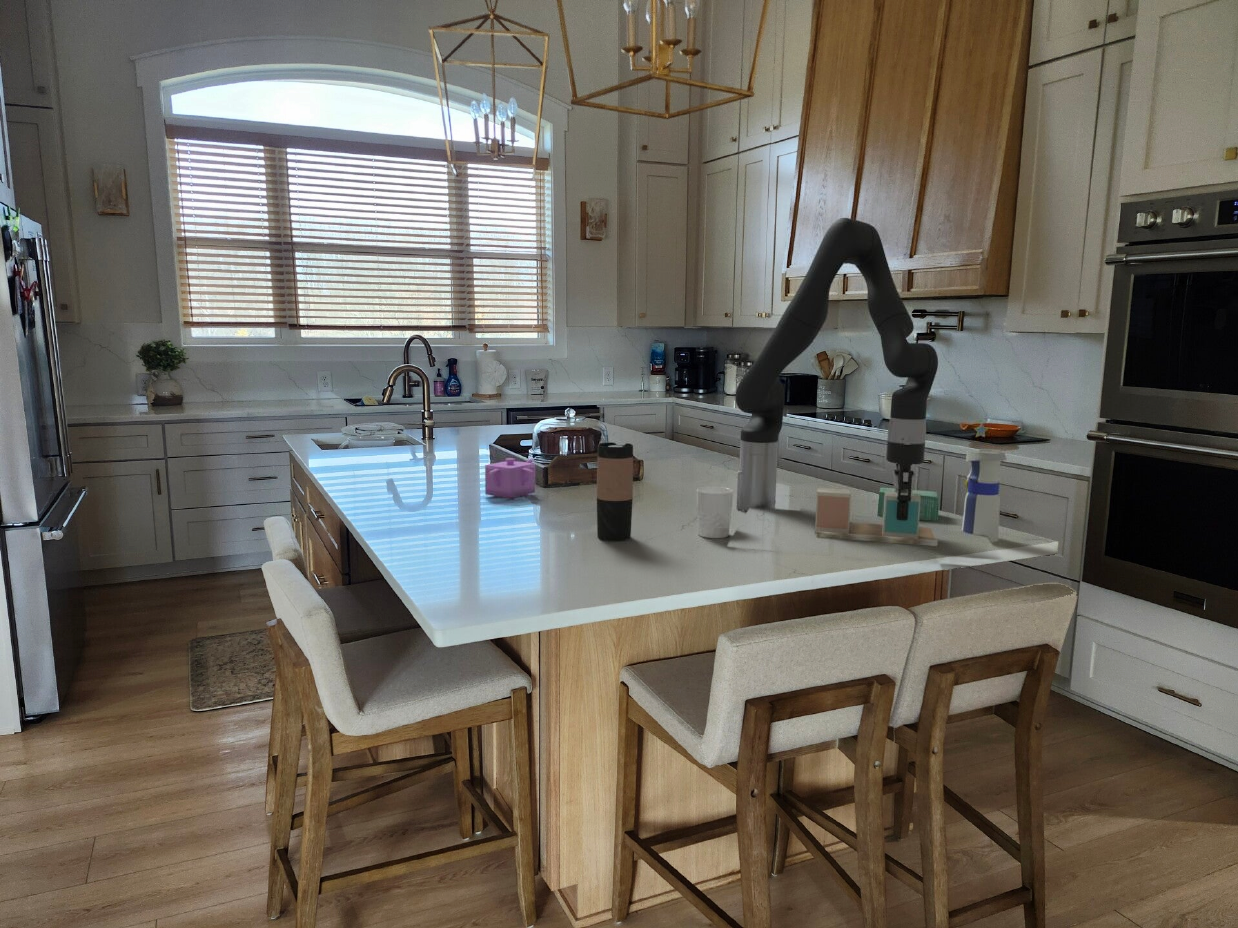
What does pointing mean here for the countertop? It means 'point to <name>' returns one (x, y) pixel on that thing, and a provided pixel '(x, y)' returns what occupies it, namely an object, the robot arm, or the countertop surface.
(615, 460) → the travel mug
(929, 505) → the box
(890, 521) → the carton
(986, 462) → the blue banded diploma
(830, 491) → the faced carton
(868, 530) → the board
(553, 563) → the countertop surface
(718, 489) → the white cup
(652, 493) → the countertop surface
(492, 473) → the teapot
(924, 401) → the robot arm
